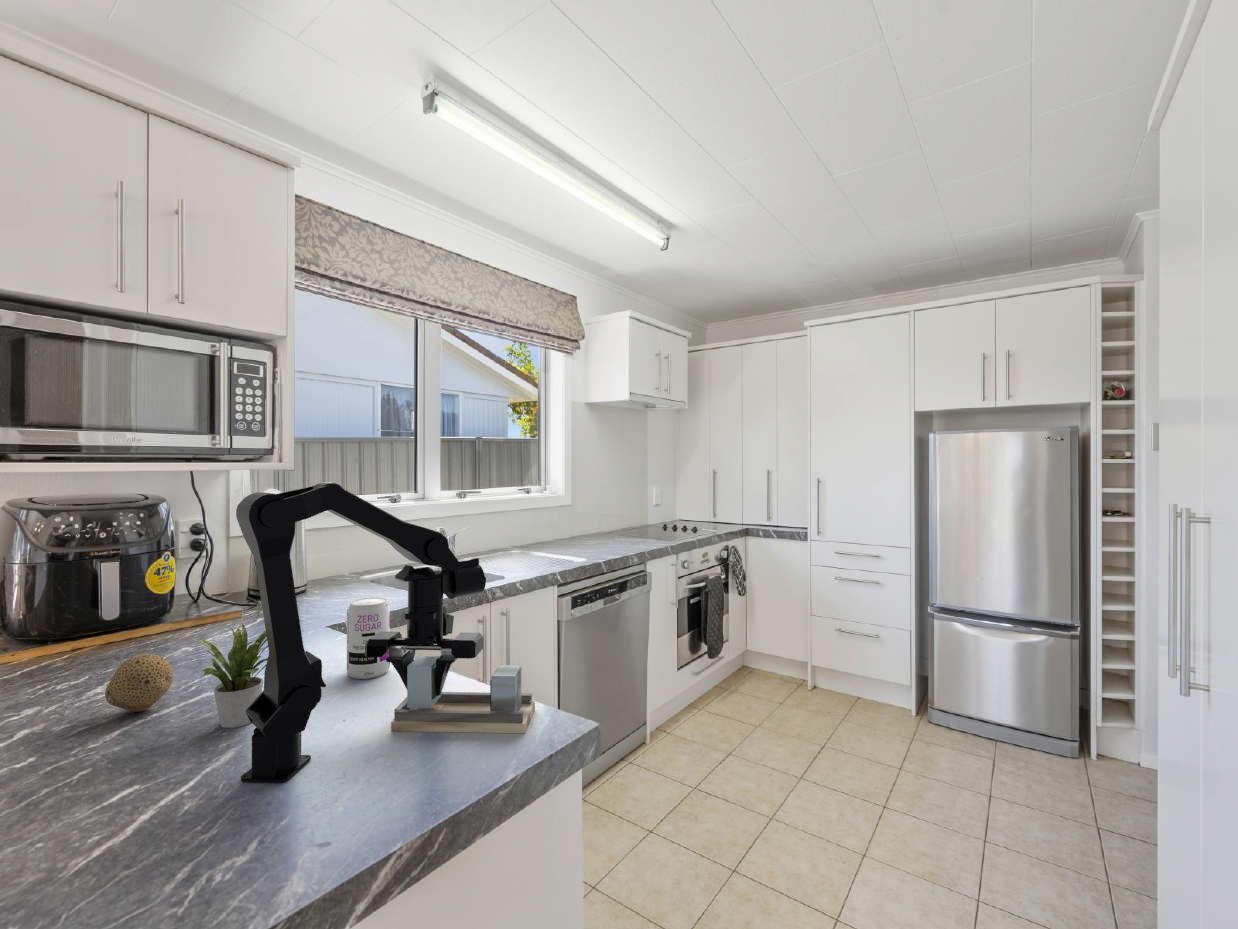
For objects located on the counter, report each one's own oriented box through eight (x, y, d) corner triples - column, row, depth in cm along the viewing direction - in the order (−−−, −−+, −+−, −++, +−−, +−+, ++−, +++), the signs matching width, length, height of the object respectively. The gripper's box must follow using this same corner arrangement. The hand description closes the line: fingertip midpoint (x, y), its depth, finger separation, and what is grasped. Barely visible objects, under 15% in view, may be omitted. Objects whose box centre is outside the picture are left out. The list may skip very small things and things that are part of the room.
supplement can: (377, 663, 125) (377, 595, 125) (397, 672, 120) (397, 600, 120) (339, 674, 119) (339, 601, 119) (358, 683, 114) (359, 608, 114)
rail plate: (524, 733, 93) (524, 681, 93) (391, 731, 94) (391, 679, 94) (534, 709, 102) (534, 662, 102) (412, 707, 103) (412, 660, 103)
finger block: (432, 708, 95) (432, 666, 95) (407, 707, 96) (407, 665, 96) (442, 696, 100) (443, 656, 100) (418, 695, 101) (418, 656, 101)
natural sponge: (182, 709, 102) (182, 653, 102) (117, 728, 94) (117, 667, 94) (162, 697, 107) (162, 644, 107) (100, 714, 100) (100, 657, 100)
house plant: (310, 715, 99) (311, 621, 99) (222, 749, 87) (223, 642, 87) (265, 698, 107) (266, 610, 107) (178, 727, 95) (179, 629, 95)
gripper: (491, 593, 106) (491, 678, 106) (392, 592, 106) (391, 676, 106) (474, 608, 95) (474, 703, 94) (363, 607, 95) (363, 701, 95)
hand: (425, 694), depth 98 cm, fingers closed on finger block, 4 cm apart
